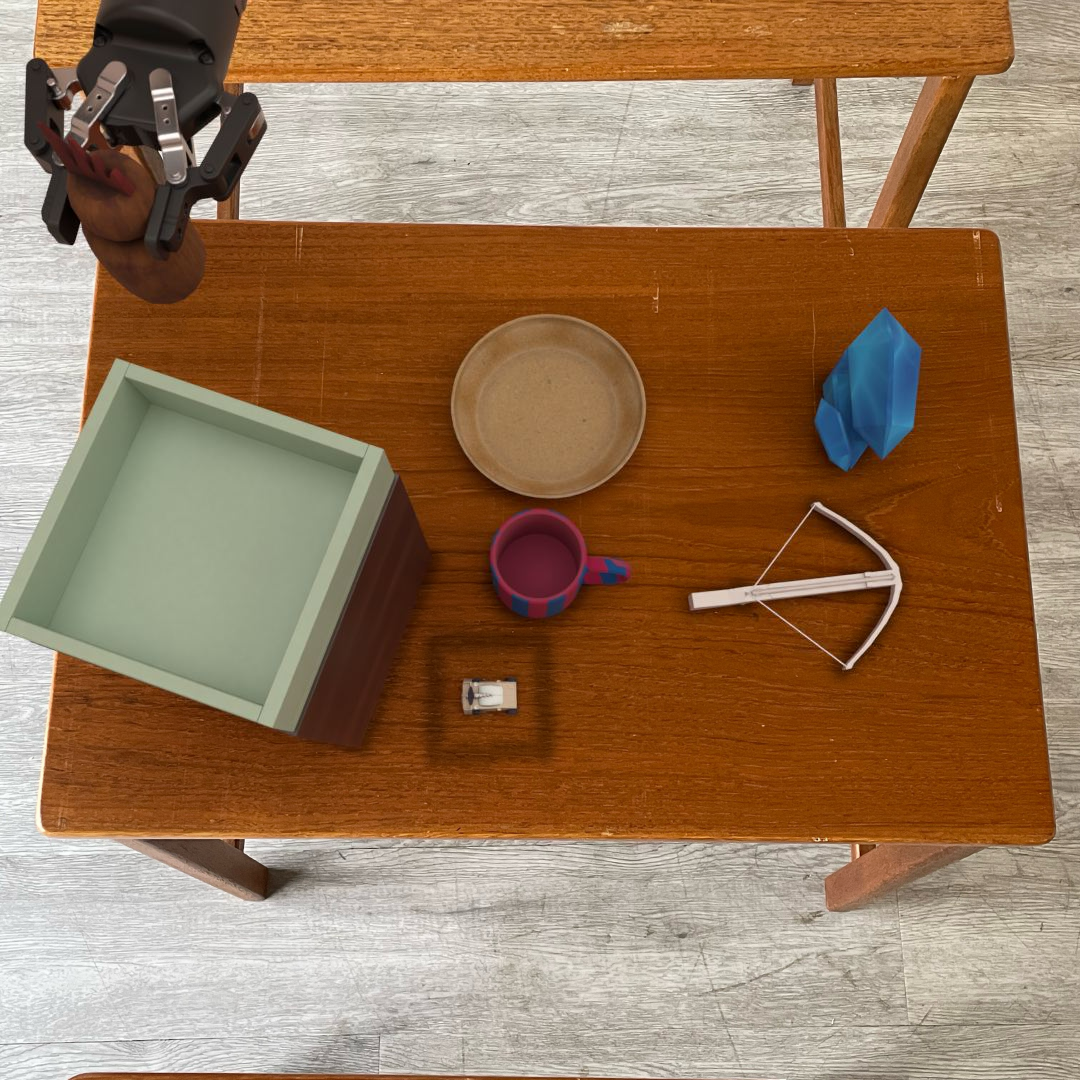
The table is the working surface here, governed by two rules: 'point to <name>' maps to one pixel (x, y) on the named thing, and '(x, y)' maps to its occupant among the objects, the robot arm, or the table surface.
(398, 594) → the plinth
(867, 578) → the crossbow
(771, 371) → the table surface
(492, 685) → the toy car
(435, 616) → the table surface
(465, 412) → the plant saucer
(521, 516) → the cup
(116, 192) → the wooden figurine
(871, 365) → the crystal
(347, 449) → the bin
